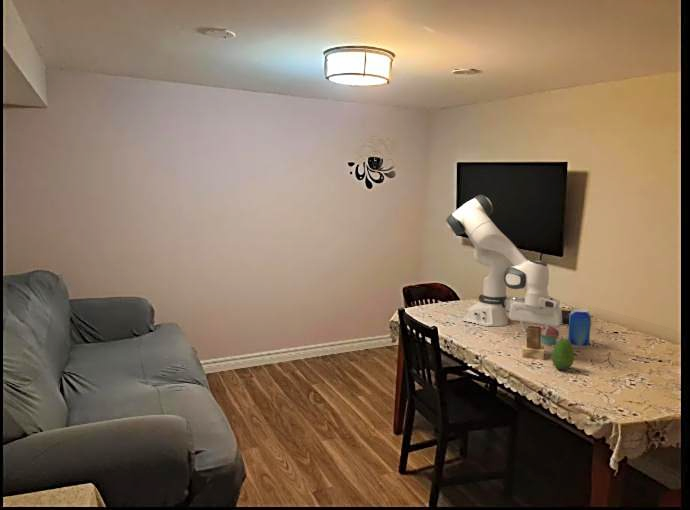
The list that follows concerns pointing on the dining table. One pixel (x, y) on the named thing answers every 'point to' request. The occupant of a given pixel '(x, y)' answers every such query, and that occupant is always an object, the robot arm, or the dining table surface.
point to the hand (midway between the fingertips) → (534, 333)
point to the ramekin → (509, 301)
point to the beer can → (579, 327)
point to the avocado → (563, 354)
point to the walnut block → (534, 337)
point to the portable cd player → (565, 316)
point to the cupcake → (549, 335)
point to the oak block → (533, 352)
